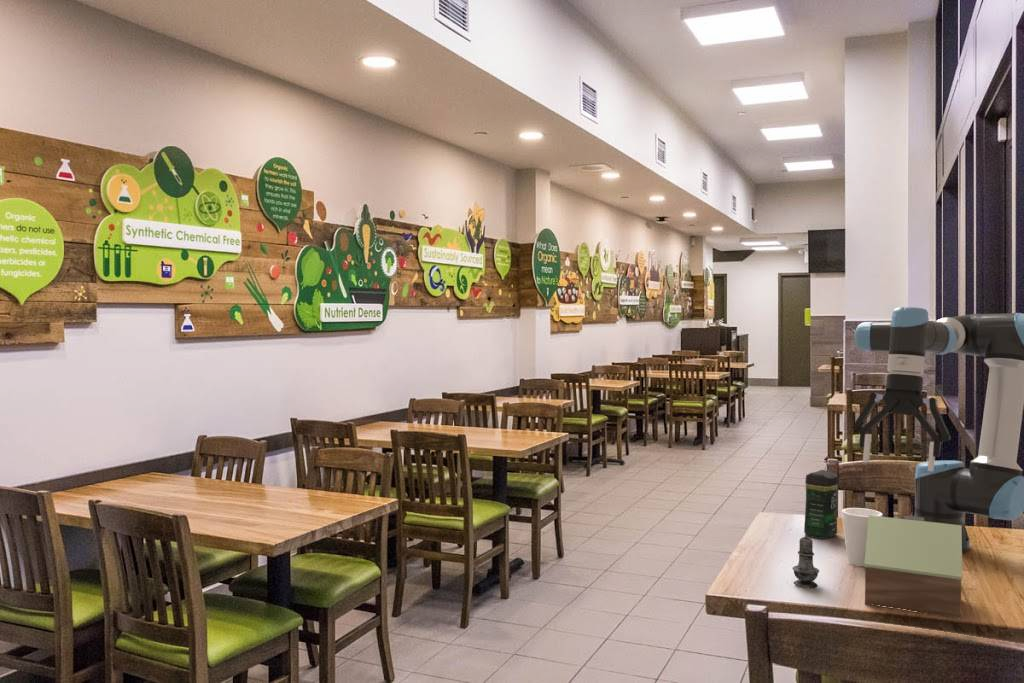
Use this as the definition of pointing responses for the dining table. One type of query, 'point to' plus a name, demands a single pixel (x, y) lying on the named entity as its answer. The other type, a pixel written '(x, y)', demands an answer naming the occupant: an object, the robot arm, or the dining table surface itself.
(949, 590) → the box
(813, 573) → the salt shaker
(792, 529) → the dining table surface
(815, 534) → the coffee jar
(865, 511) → the foam cup
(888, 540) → the lid
